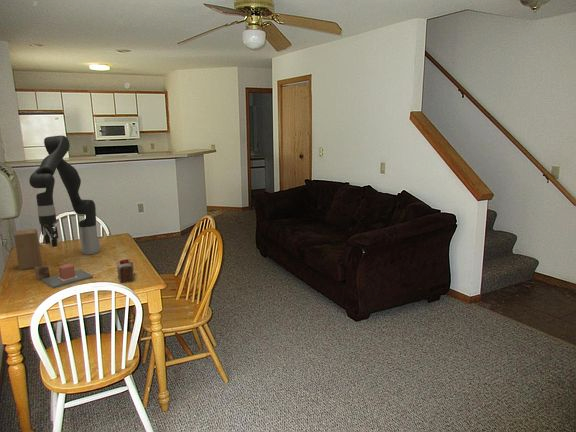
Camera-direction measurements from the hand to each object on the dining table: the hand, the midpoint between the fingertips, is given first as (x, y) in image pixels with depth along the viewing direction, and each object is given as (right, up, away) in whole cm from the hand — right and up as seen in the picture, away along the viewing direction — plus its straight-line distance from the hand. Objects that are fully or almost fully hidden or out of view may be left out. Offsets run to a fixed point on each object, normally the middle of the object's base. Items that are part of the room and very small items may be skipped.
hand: (51, 245), depth 208 cm
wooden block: (-24, -14, +22) cm, 36 cm away
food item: (+37, -17, +4) cm, 41 cm away
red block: (+7, -17, +2) cm, 18 cm away
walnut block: (-7, -17, +5) cm, 19 cm away
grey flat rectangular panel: (+7, -18, +2) cm, 19 cm away
